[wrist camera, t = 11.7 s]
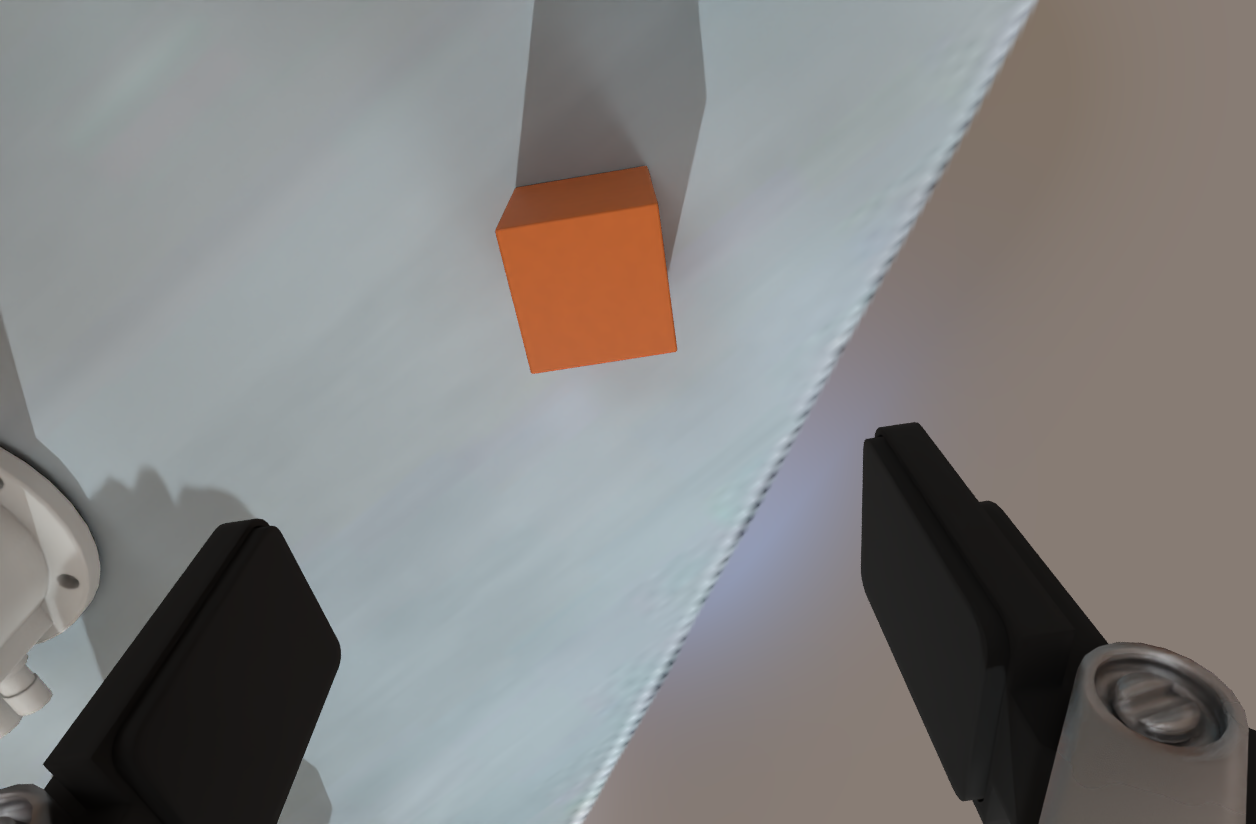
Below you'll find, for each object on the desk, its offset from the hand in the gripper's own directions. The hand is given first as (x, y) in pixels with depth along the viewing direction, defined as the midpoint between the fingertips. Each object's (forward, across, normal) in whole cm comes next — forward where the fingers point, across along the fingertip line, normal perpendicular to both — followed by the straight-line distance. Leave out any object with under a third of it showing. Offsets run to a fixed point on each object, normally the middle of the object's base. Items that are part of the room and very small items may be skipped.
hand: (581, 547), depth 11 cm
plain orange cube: (+16, 0, 0) cm, 16 cm away
